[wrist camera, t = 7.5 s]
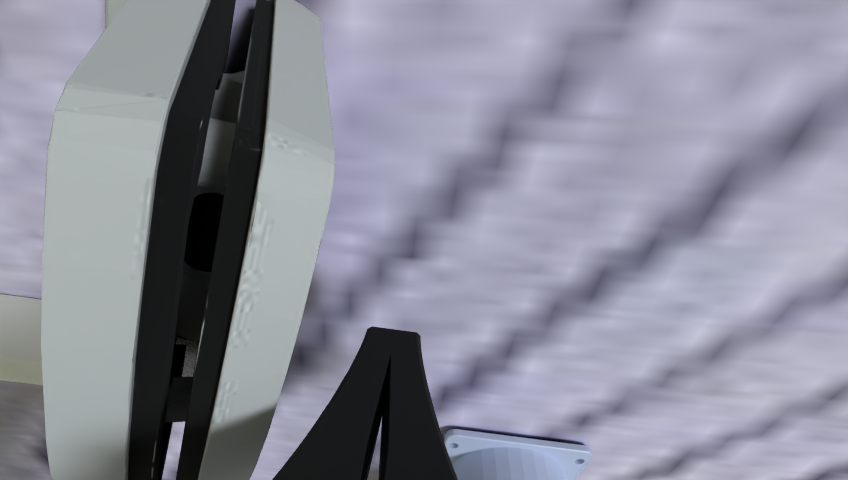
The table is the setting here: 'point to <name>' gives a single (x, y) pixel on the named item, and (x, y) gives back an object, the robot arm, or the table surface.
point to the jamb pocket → (20, 339)
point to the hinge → (180, 237)
